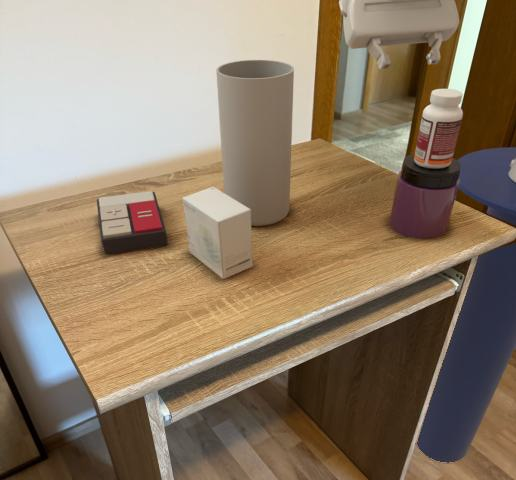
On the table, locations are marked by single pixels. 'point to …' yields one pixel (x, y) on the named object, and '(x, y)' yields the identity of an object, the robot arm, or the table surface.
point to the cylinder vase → (257, 135)
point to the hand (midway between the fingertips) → (410, 64)
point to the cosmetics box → (219, 231)
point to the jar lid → (430, 174)
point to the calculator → (130, 222)
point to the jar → (421, 209)
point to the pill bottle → (439, 129)
